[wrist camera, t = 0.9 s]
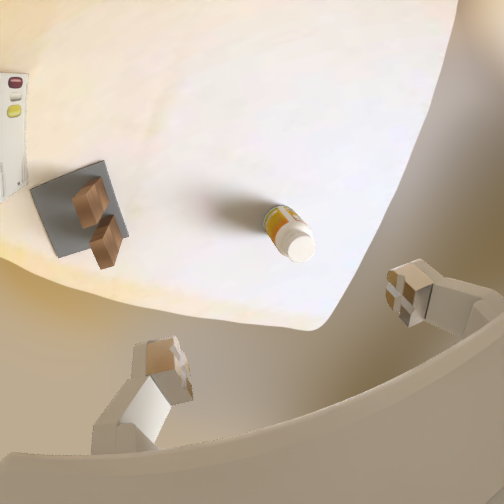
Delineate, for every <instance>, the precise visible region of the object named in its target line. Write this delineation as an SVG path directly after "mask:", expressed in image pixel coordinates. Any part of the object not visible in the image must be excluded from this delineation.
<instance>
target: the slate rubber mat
mask: <svg viewBox="0 0 504 504" xmlns="http://www.w3.org/2000/svg"><path fill="white" fill-rule="evenodd" d="M98 177H102V181H103V184H104V187H105V190H106V193H107V196H108V199H109V204H108V206H107V208H106V209H105V211H104V213H103V214H102V216H101V218H100V220H99V221H98V223H97V224H96V225H93V226H90V227H87V228H84V229H83V228H82V225H81V223H80V220H79V217H78V215H77V212H76V210H75V207H74V204H73V201H72V198H73V197H74V196H75V195H76V194H77V193H78V192H79V191H80V190H81V189H82V187H83V186H84V185H85V184H86V183H87V182H88V181H90V180H93V179H95V178H98ZM30 191H31V194H32V196H33V199H34V202H35V204H36V207H37V210H38V212H39V215H40V217H41V220H42V222H43V225H44V227H45V229H46V232H47V234H48V236H49V239H50V241H51V243H52V245H53V247H54V250H55V252H56V254H57V256H58V258H61V257H64V256H67V255H70V254H73V253H76V252H80V251H83V250H86V249H89V248H91V247H90V245H89V242H90V240H91V238H92V236H93V234H94V232H95V230H96V228H97V227H98V225H99V223H100V221H101V219H102V218H105V217H108V216H111V215H114V216H115V219H116V222H117V224H118V227H119V230H120V232H121V235H122V238H126V237H129V234H128V231H127V228H126V226H125V223H124V220H123V217H122V214H121V212H120V209H119V206H118V203H117V200H116V197H115V194H114V191H113V188H112V184H111V181H110V178H109V175H108V172H107V168H106V165H105V162H104V161H101V162H99V163H96V164H93V165H90V166H87V167H85V168H82V169H79V170H77V171H74V172H72V173H69V174H66V175H64V176H61V177H59V178H57V179H54V180H52V181H49V182H47V183H45V184H42V185H40V186H38V187H35V188H33V189H31V190H30Z"/></svg>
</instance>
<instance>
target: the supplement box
mask: <svg viewBox="0 0 504 504" xmlns="http://www.w3.org/2000/svg"><path fill="white" fill-rule="evenodd" d="M28 80H29V74H21V73H3V72H0V203H1V202H3V201H4V200H6V199H7V198H8V197H10V196H11V195H12V194H14V193H15V192H17V191H18V190H19V189H21V188H22V187H24V186H25V185H27V184H28V174H27V155H26V112H27V94H28Z"/></svg>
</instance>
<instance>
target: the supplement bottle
mask: <svg viewBox="0 0 504 504" xmlns="http://www.w3.org/2000/svg"><path fill="white" fill-rule="evenodd" d="M264 228H265V230H266V232H267V234H268V235H269V237H270V238H271V240H272V241H273V243H274V244H275V246H276V248H277V249H278V251H279V252H280V253H281V254H282V255H284V256H287V257H289V258H290V259H291V260H292V261H294V262H298V263H300V262H304V261H306V260H308V259H309V258H311V257H312V255H313V254H314V252H315V247H316V246H315V242H314V240H313V236H312V232H311V230H310V228H309V227H308V225H307V224H306V223H305V222H304V221H303V220H302V219H301V218H300V217H299V216H298V215H297V214H296V213H295V212H294V211H293V210H292V209H291V208H289V207H287V206H277V207H274V208H273V209H271V210H270V211H269V212H268V213H267V214H266V216H265V219H264Z"/></svg>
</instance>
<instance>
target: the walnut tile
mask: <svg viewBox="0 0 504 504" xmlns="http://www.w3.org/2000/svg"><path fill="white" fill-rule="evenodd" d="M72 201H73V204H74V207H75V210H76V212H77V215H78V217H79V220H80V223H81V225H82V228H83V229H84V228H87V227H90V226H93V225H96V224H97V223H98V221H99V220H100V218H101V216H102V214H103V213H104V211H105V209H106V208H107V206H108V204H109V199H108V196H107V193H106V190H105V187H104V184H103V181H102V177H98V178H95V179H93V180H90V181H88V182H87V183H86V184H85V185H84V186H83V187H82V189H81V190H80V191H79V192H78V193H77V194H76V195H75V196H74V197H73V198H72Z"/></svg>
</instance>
